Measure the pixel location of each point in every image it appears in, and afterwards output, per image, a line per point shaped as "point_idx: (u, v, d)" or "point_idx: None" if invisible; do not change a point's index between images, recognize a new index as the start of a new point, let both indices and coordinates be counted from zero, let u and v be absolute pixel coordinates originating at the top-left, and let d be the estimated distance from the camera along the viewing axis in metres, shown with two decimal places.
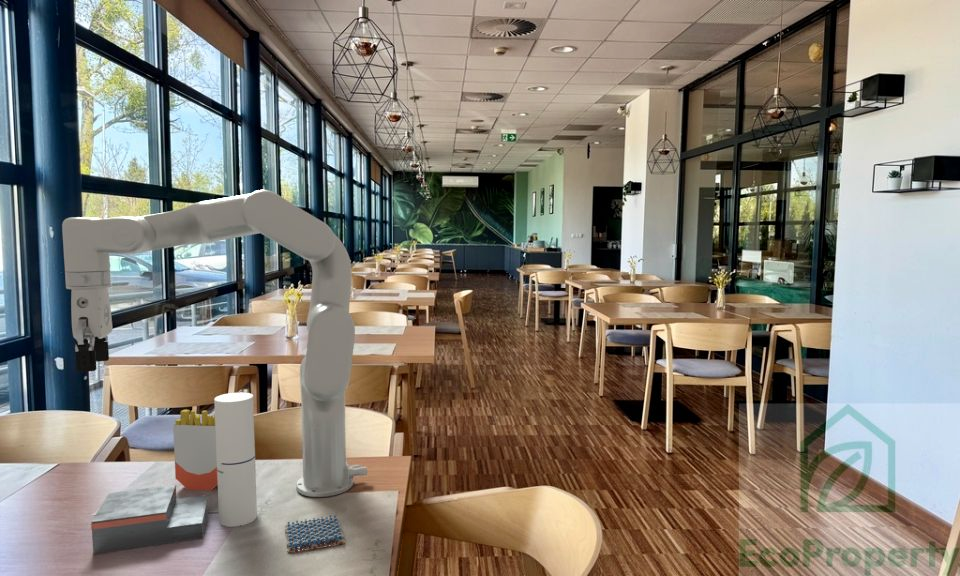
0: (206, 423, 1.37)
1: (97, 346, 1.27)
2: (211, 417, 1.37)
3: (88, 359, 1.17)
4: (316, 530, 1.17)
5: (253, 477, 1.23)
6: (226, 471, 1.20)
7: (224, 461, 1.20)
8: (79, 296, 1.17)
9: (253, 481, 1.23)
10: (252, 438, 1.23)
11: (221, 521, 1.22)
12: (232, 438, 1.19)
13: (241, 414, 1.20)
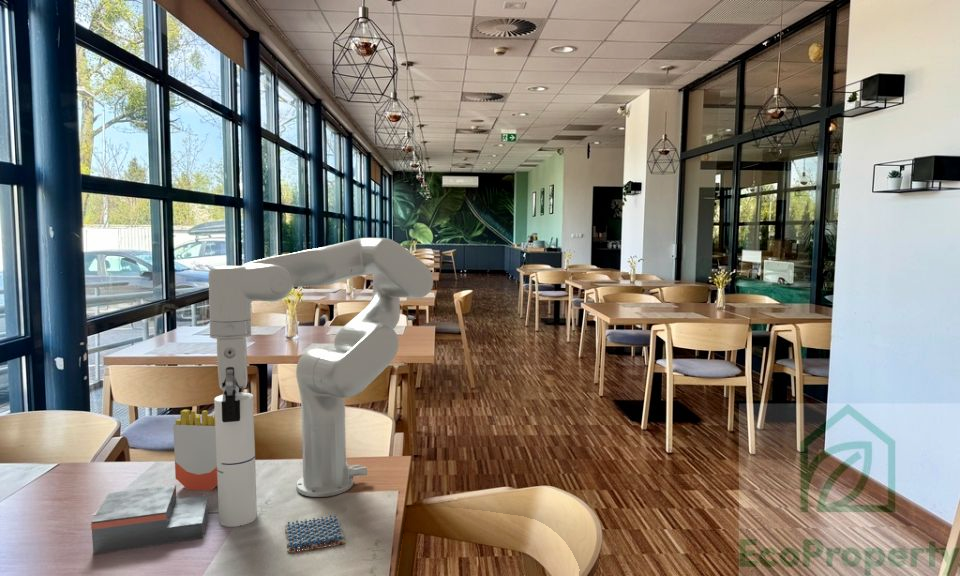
0: (206, 423, 1.37)
1: None
2: (211, 417, 1.37)
3: (234, 409, 1.17)
4: (316, 530, 1.17)
5: (253, 477, 1.23)
6: (226, 471, 1.20)
7: (224, 461, 1.20)
8: (226, 346, 1.17)
9: (253, 481, 1.23)
10: (252, 438, 1.23)
11: (221, 521, 1.22)
12: (232, 438, 1.19)
13: (241, 414, 1.20)
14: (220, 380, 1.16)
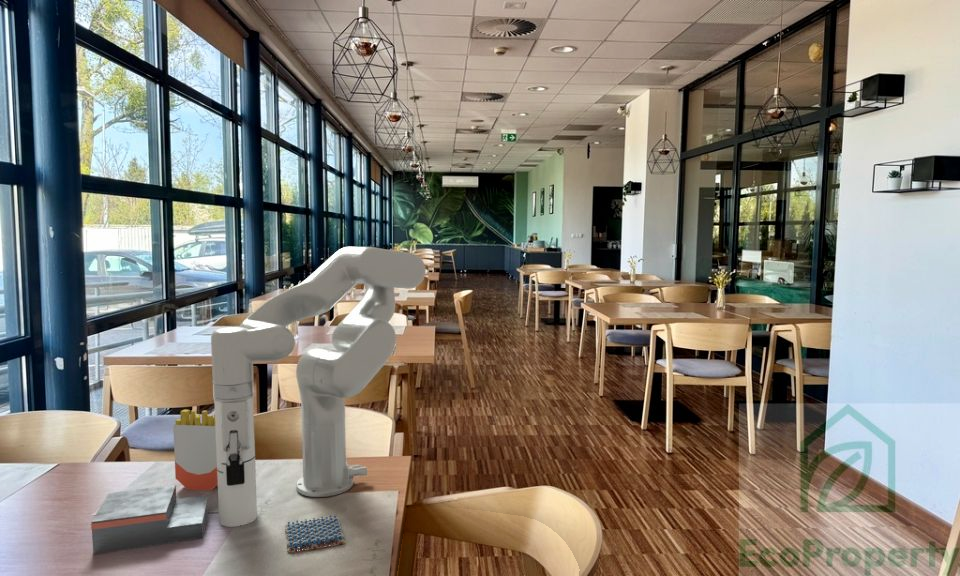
0: (206, 423, 1.37)
1: None
2: (211, 417, 1.37)
3: (238, 473, 1.19)
4: (316, 530, 1.17)
5: (253, 477, 1.23)
6: None
7: (224, 461, 1.20)
8: (230, 410, 1.18)
9: (253, 481, 1.23)
10: (252, 438, 1.23)
11: (221, 521, 1.22)
12: None
13: None
14: (224, 443, 1.18)
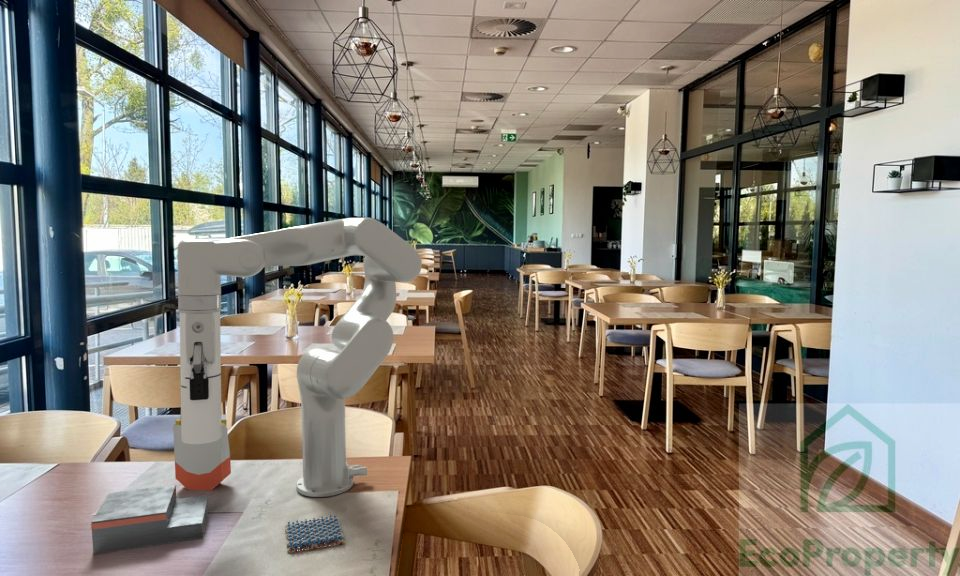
0: None
1: None
2: None
3: (202, 387, 1.15)
4: (316, 530, 1.17)
5: (218, 395, 1.20)
6: None
7: (188, 375, 1.16)
8: (194, 320, 1.14)
9: (218, 399, 1.20)
10: (218, 354, 1.19)
11: (183, 439, 1.18)
12: None
13: None
14: (188, 355, 1.14)
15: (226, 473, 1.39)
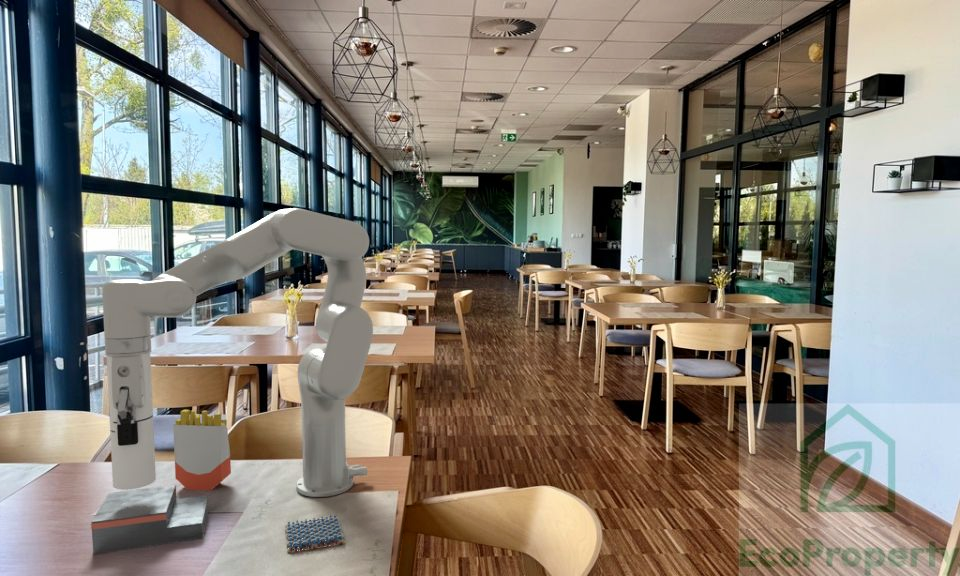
0: (206, 423, 1.37)
1: None
2: (211, 417, 1.37)
3: (130, 432, 1.12)
4: (316, 530, 1.17)
5: (149, 438, 1.16)
6: None
7: (116, 420, 1.13)
8: (120, 364, 1.11)
9: (149, 442, 1.16)
10: (148, 396, 1.16)
11: (114, 484, 1.15)
12: None
13: None
14: (114, 400, 1.11)
15: (226, 473, 1.39)
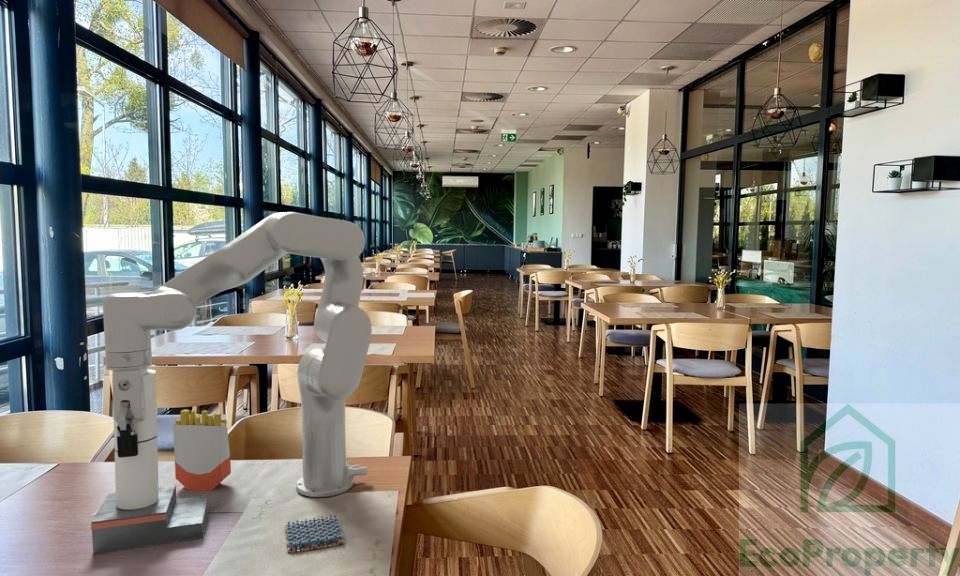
0: (206, 423, 1.37)
1: None
2: (211, 417, 1.37)
3: (130, 444, 1.12)
4: (316, 530, 1.17)
5: (153, 458, 1.17)
6: None
7: None
8: (121, 378, 1.11)
9: (153, 462, 1.17)
10: (153, 417, 1.17)
11: (117, 504, 1.15)
12: (129, 416, 1.13)
13: None
14: (115, 414, 1.11)
15: (226, 473, 1.39)
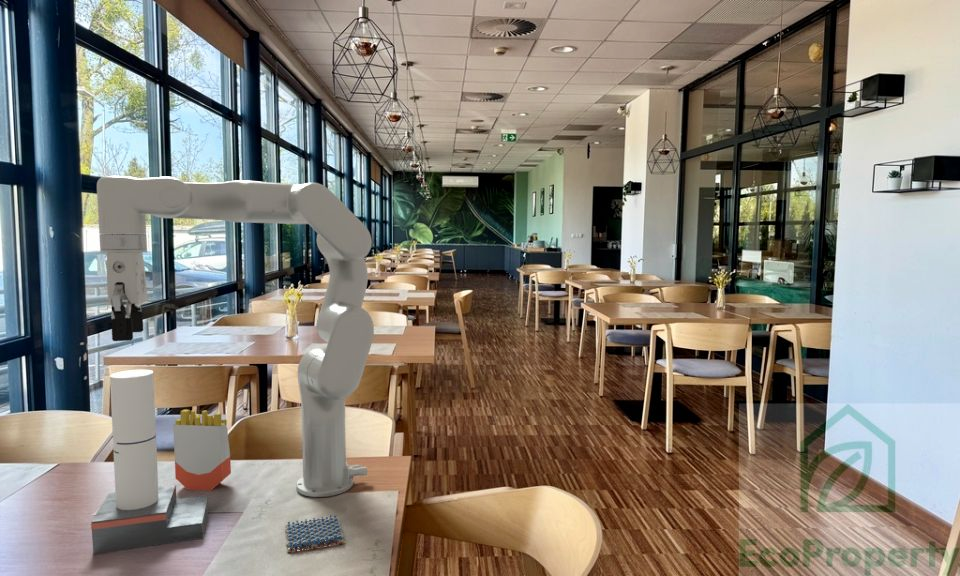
0: (206, 423, 1.37)
1: (131, 316, 1.19)
2: (211, 417, 1.37)
3: (125, 327, 1.10)
4: (316, 530, 1.17)
5: (152, 458, 1.17)
6: (121, 451, 1.14)
7: (119, 441, 1.14)
8: (115, 260, 1.09)
9: (152, 462, 1.17)
10: (151, 417, 1.17)
11: (117, 504, 1.15)
12: (127, 416, 1.13)
13: (137, 391, 1.14)
14: (109, 296, 1.09)
15: (226, 473, 1.39)
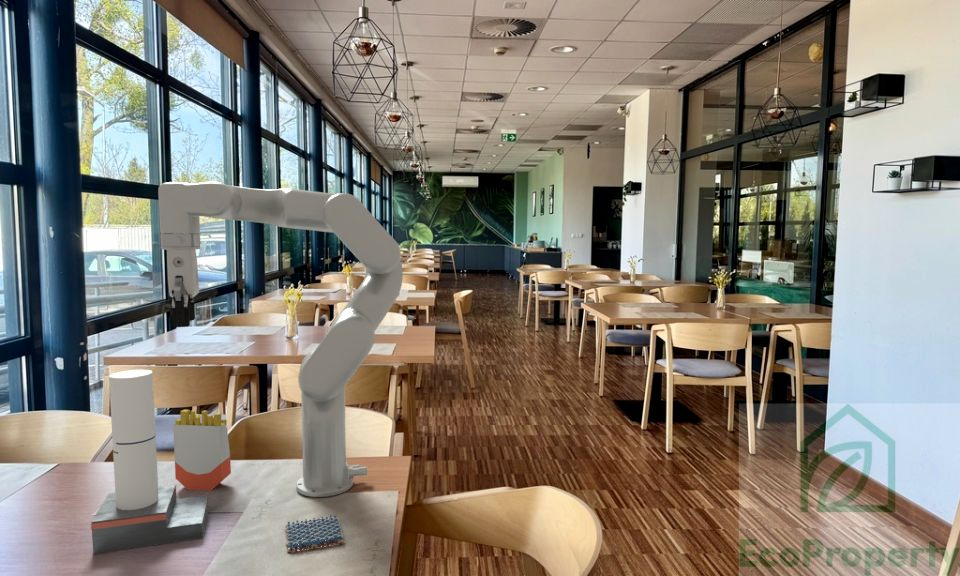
0: (206, 423, 1.37)
1: None
2: (211, 417, 1.37)
3: (183, 315, 1.25)
4: (316, 530, 1.17)
5: (152, 458, 1.17)
6: (121, 451, 1.14)
7: (119, 441, 1.14)
8: (175, 256, 1.25)
9: (152, 462, 1.17)
10: (151, 417, 1.17)
11: (117, 504, 1.15)
12: (126, 416, 1.13)
13: (137, 391, 1.14)
14: (170, 287, 1.25)
15: (226, 473, 1.39)
